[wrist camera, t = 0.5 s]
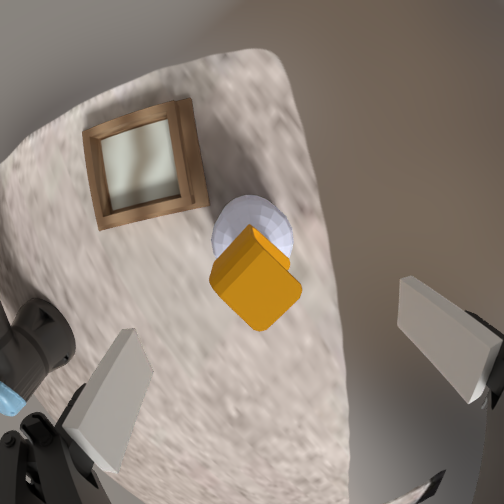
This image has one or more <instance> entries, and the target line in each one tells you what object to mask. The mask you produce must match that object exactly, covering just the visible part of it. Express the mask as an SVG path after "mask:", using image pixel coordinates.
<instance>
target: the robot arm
mask: <svg viewBox="0 0 504 504" xmlns="http://www.w3.org/2000/svg"><path fill="white" fill-rule="evenodd" d="M397 326H398V327H399V328H400V329H401V330H402V331H403V332H404V333H405V335H406V336H407V337H408V338H409V339H410V340H411V341H412V342H413V343H414V344H415V345H416V346H417V347H418V348H419V349H420V350H421V352H422V353H423V354H424V355H425V356H426V357H427V358H428V359H429V360H430V361H431V362H432V363H433V365H434V366H435V367H436V368H437V369H438V370H439V371H440V372H441V374H442V375H443V376H444V377H445V378H446V379H447V380H448V381H449V383H450V384H451V385H452V386H453V387H454V388H455V389H456V391H457V392H458V393H459V394H460V395H461V396H462V398H463V399H464V400H465V401H466V402H467V403H468V404H469V403H471V402H472V401H474V400H475V399H477V398H478V397H480V396H481V395H482V392H483V390H484V388H485V386H486V385H487V386H488V387H489V388H490V390H489V392H488V394H487V396H486V398H485V401H484V402H483V404H482V408H481V409H483V408H484V407H485V405H486V403H487V420H486V433H485V442H484V449H483V456H482V463H481V468H480V473H479V478H478V482H477V487H476V491H475V495H474V498H473V502H472V504H504V335H503V334H502V333H501V332H500V331H498V330H497V329H495V328H494V327H493V326H491V325H489V323H487V322H486V321H483V319H482V318H480V317H479V316H478V315H476V314H474V313H472V312H469V311H463V310H462V309H460V308H459V307H457V306H456V305H455V304H453V303H452V302H450V301H449V300H447V299H446V298H445V297H443V296H442V295H440V294H439V293H437V292H436V291H434V290H432V289H431V288H430V287H428V286H427V285H425V284H424V283H422V282H421V281H419V280H418V279H416V278H415V277H413V276H409V277H405V278H402V279H400V291H399V308H398V321H397ZM75 349H76V345H75V339H74V335H73V333H72V330H71V328H70V326H69V325H68V323H67V321H66V320H65V318H64V317H63V316H62V315H61V313H60V312H59V311H58V310H57V309H56V308H55V307H54V306H52V305H51V304H49V303H48V302H46V301H44V300H41V299H31V300H29V301H28V302H27V303H25V304H24V305H23V306H22V307H21V308H20V310H19V312H18V314H17V316H16V317H15V319H14V321H13V323H12V325H11V326H10V323H9V321H8V318H7V316H6V313H5V311H4V308H3V306H2V303H1V301H0V413H2V414H4V415H7V416H14V415H16V414H17V413H18V412H19V411H20V410H21V409H22V408H23V407H24V406H25V405H26V403H27V401H28V400H29V398H30V397H31V396H32V394H33V393H34V392H35V390H36V389H37V388H38V386H39V385H40V384H41V382H42V381H43V380H44V378H45V377H46V376H47V375H48V373H50V372H52V371H54V370H56V369H58V368H60V367H62V366H64V365H66V364H67V363H68V362H69V361H70V360H71V358H72V357H73V356H74V353H75ZM153 372H154V371H153V369H152V367H151V365H150V362H149V360H148V358H147V356H146V353H145V351H144V349H143V346H142V344H141V342H140V339H139V337H138V334H137V332H136V329H135V328H132V329H122V330H121V332H120V333H119V335H118V336H117V338H116V339H115V341H114V342H113V344H112V345H111V347H110V348H109V350H108V351H107V353H106V354H105V356H104V357H103V359H102V360H101V362H100V363H99V365H98V367H97V368H96V370H95V371H94V373H93V374H92V376H91V378H90V379H89V381H88V382H87V383H84V384H83V385H82V386H81V387H80V388H79V389H77V390H76V392H75V393H74V395H73V397H72V398H71V399H72V400H70V401H69V403H68V407H67V406H66V408H65V410H64V411H63V413H62V415H61V416H60V418H59V420H58V421H57V423H56V425H55V427H54V426H53V425H52V424H51V422H50V421H49V420H48V419H47V417H46V416H45V415H44V414H42V413H40V412H35V413H32V414H30V415H28V416H27V417H25V418H24V419H23V421H22V423H21V424H20V430H21V431H22V432H23V434H24V435H25V436H26V437H27V438H28V439H24V438H23V437H22V436H21V435H20V433H19V432H17V431H13V430H12V431H8V432H7V433H5V434H4V435H3V436H2V438H1V440H0V504H111V502H110V500H109V498H108V496H107V495H106V493H105V491H104V489H103V487H102V485H101V483H100V481H99V478H98V476H97V474H96V473H95V471H94V470H93V469H92V467H93V464H94V463H95V464H96V465H97V466H98V467H99V468H100V469H101V470H102V471H107V472H112V473H119V470H120V467H121V463H122V460H123V457H124V454H125V451H126V448H127V445H128V442H129V439H130V436H131V433H132V430H133V427H134V424H135V421H136V418H137V416H138V413H139V410H140V407H141V404H142V402H143V399H144V396H145V393H146V391H147V388H148V385H149V383H150V380H151V377H152V375H153ZM26 475H27V476H28V477H29V478H31V483H28V482H27V481H26Z"/></svg>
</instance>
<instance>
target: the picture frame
mask: <svg viewBox="0 0 504 504" xmlns="http://www.w3.org/2000/svg"><path fill="white" fill-rule="evenodd" d="M82 137H83V146H84V154H85V161H86V168H87V174H88V180H89V186H90V192H91V197H92V202H93V207H94V211H95V216H96V220H97V225H98V229H99V231H101V230H105V229H109V228H113V227H117V226H121V225H125V224H129V223H133V222H137V221H142V220H146V219H150V218H155V217H159V216H163V215H168V214H173V213H177V212H182V211H187V210H191V209H196V208H201V207H206V206H210V202H209V197H208V191H207V186H206V181H205V175H204V170H203V164H202V159H201V153H200V148H199V142H198V136H197V130H196V124H195V118H194V112H193V105H192V99H191V98H187V99H183V100H179V101H174V100H173V101H169V102H166V103H162V104H158V105H155V106H152V107H148V108H145V109H142V110H139V111H136V112H133V113H130V114H127V115H124V116H121V117H118V118H115V119H113V120H110V121H107V122H105V123H102V124H100V125H97V126H95V127H92V128H90V129H88V130H85V131H83V132H82Z"/></svg>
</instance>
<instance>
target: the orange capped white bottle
mask: <svg viewBox="0 0 504 504" xmlns="http://www.w3.org/2000/svg"><path fill="white" fill-rule="evenodd" d="M211 242H212V248H213V253H214V255H215V257H216V260H215V262H214V264H213V267H212V271H211V274H210V278H209V282H210V285H211V286H212V288H213V290H214V291H215V292H216V293H217V294H218V296H219V297H220V298H221V299H222V300H223V301H224V302H225V303H226V304H227V305H228V306H229V307H230V308H231V309H232V310H234V311H235V312H236V313H237V314H238V315H239V316H240V317H241V318H242V319H243V320H244V321H245V322H246V323H247V324H248V325H249V326H250V327H251V328H252V329H253V330H256V331H264V330H267V329H268V328H269V327H270V326H271V325H272V324H273V323H274V322H275V321H276V320H277V319H278V318H280V317H281V316H282V315H283V314H284V313H285V312H286V311H287V310H288V309H289V308H290V307H291V306H292V305H293V304H294V303H295V302H296V301H297V300H298V299H299V298H300V296H301V293H302V286H301V284H300V283H299V282H298V281H297V280H296V279H295V278H294V277H293V276H292V275H291V274H290V273H289V272H288V271H287V270H288V269H289V267H290V261H289V257H290V255H291V251H292V247H293V243H294V242H293V232H292V227H291V225H290V223H289V221H288V219H287V217H286V216H285V215H284V214H283V213H282V212H281V211H280V210H279V209H278V208H277V207H276V206H274V205H273V204H272V203H271V202H270V201H268V200H267V199H264V198H262V197H260V196H257V195H244V196H240V197H237V198H234V199H233V200H232V201H231V202H229V203H228V204H227V205H226V206H225V207H224V209H223V211H222V212H221V214H220V215H219V217H218V219H217V221H216V223H215V225H214V228H213V233H212V238H211Z"/></svg>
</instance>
